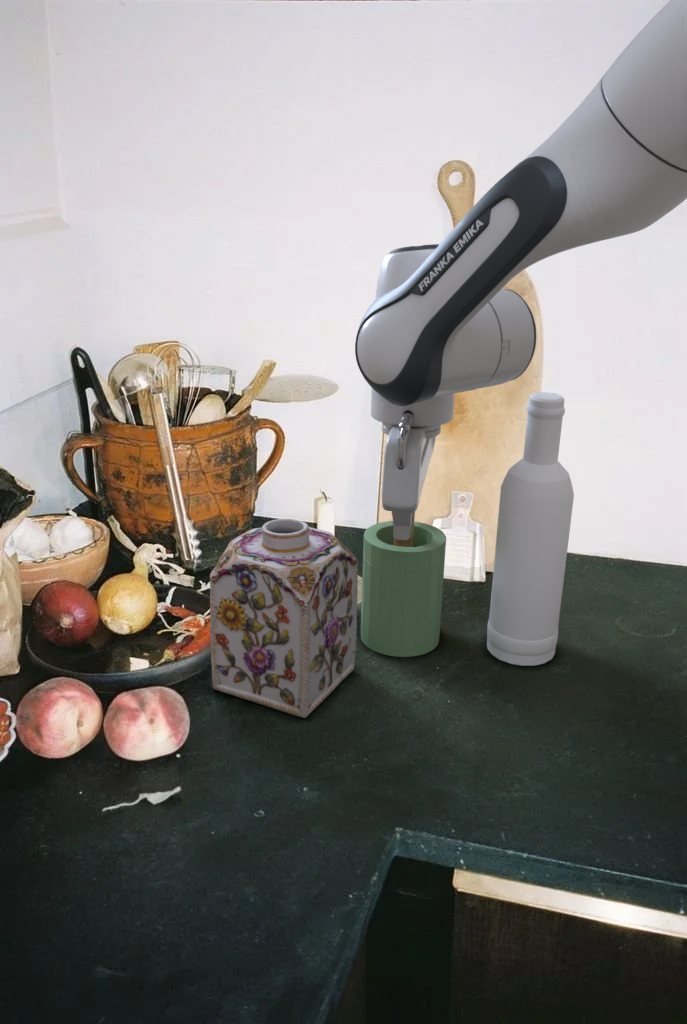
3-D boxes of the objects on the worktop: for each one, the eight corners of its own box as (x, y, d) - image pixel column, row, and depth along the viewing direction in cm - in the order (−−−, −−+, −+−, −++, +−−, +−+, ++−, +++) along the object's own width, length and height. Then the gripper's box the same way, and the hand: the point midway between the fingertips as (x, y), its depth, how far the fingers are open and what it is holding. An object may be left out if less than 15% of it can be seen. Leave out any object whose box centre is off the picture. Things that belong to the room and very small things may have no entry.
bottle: (509, 672, 103) (536, 408, 92) (472, 640, 110) (493, 390, 99) (569, 659, 106) (602, 401, 95) (530, 628, 113) (556, 384, 102)
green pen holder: (441, 623, 114) (448, 524, 109) (435, 661, 105) (443, 555, 100) (366, 615, 115) (370, 517, 110) (355, 652, 107) (358, 547, 102)
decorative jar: (305, 722, 93) (307, 557, 87) (208, 691, 98) (203, 533, 92) (358, 668, 103) (363, 516, 97) (268, 643, 108) (267, 496, 102)
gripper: (434, 429, 90) (426, 561, 95) (448, 381, 109) (441, 494, 113) (369, 424, 91) (365, 555, 96) (394, 378, 109) (389, 490, 114)
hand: (406, 521), depth 105 cm, fingers open, 8 cm apart
